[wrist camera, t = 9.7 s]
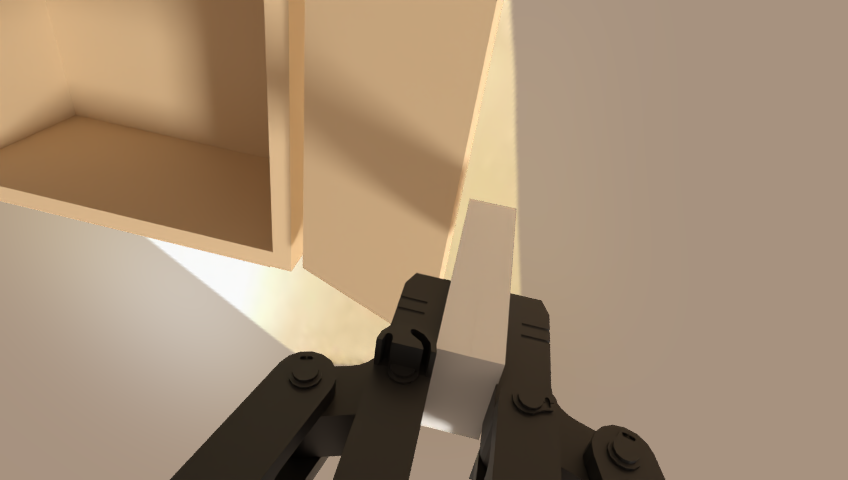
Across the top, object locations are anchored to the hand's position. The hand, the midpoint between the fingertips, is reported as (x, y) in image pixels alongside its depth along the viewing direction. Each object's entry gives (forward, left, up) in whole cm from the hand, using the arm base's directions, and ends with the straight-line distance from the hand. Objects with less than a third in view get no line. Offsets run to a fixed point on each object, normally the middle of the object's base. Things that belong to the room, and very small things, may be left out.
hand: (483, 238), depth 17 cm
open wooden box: (-20, 0, -16) cm, 25 cm away
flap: (-5, 0, -3) cm, 6 cm away
